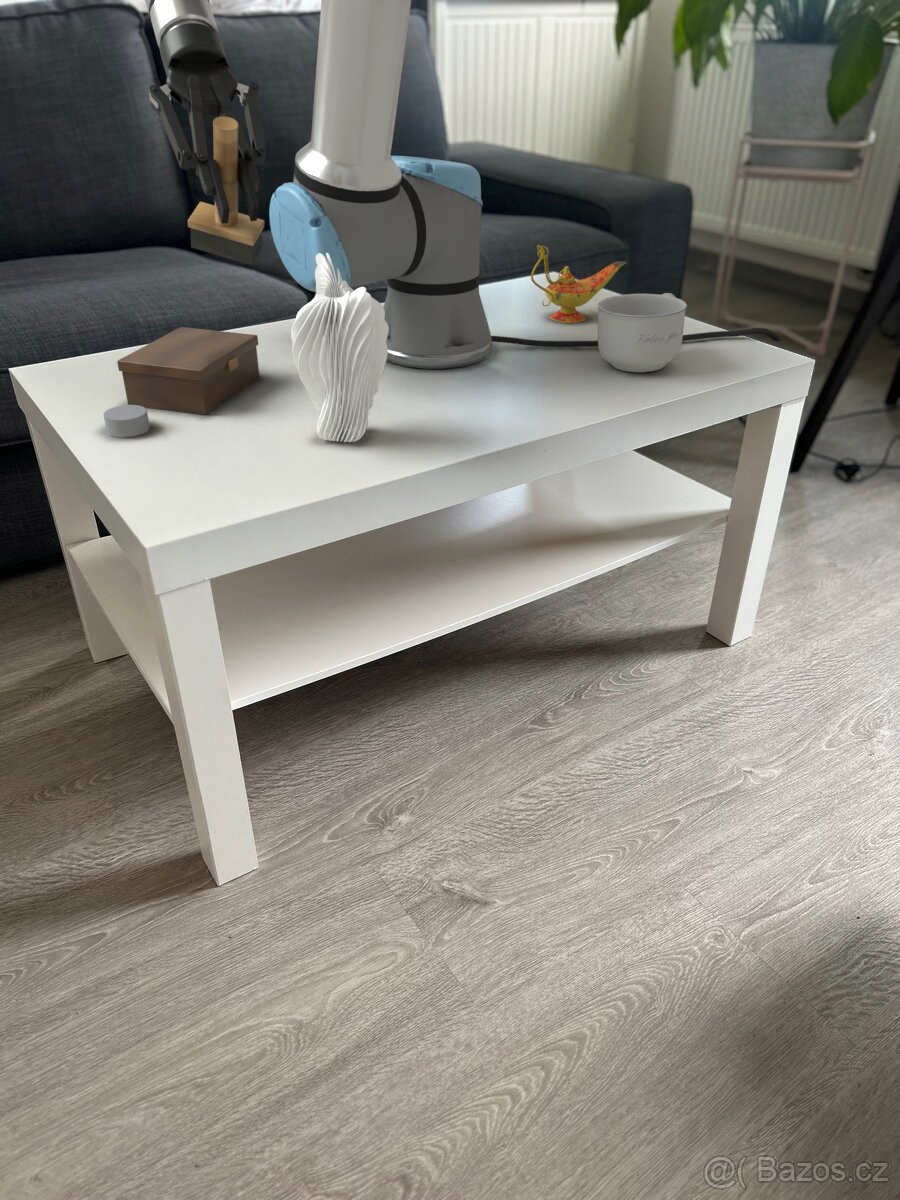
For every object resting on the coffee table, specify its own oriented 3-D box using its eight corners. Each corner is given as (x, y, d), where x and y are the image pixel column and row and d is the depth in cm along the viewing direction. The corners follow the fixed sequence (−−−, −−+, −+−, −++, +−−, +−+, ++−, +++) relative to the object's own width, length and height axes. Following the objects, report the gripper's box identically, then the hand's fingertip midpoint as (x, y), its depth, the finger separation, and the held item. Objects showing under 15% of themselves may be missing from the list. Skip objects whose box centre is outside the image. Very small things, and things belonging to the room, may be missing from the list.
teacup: (641, 386, 112) (649, 319, 108) (574, 363, 119) (580, 299, 114) (710, 361, 120) (720, 299, 115) (643, 342, 126) (651, 281, 122)
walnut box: (263, 377, 113) (259, 335, 111) (208, 416, 103) (202, 370, 100) (186, 368, 116) (180, 326, 113) (125, 405, 105) (116, 360, 102)
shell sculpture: (375, 454, 94) (368, 272, 85) (297, 448, 95) (281, 267, 86) (393, 424, 101) (389, 252, 91) (320, 418, 102) (308, 248, 93)
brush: (263, 247, 121) (267, 124, 107) (252, 266, 118) (255, 143, 105) (201, 228, 120) (196, 103, 107) (188, 248, 118) (182, 121, 104)
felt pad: (116, 423, 96) (120, 441, 97) (154, 412, 98) (157, 429, 99) (95, 412, 98) (99, 429, 99) (132, 401, 101) (136, 418, 102)
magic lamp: (636, 312, 138) (645, 234, 133) (543, 331, 130) (549, 249, 124) (605, 301, 143) (612, 226, 137) (513, 320, 135) (517, 240, 129)
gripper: (250, 67, 119) (300, 229, 115) (123, 69, 113) (171, 239, 110) (257, 19, 112) (310, 190, 108) (122, 19, 106) (173, 199, 103)
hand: (240, 214), depth 109 cm, fingers closed on brush, 3 cm apart
